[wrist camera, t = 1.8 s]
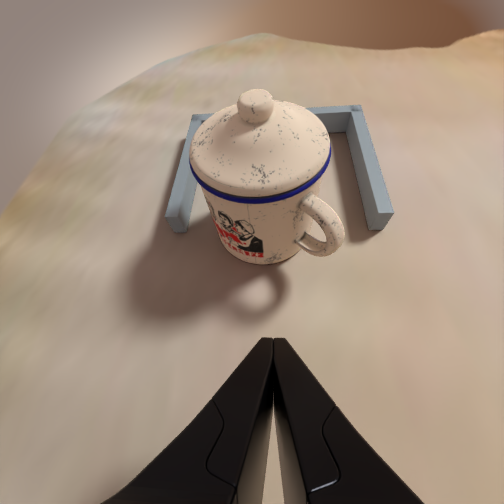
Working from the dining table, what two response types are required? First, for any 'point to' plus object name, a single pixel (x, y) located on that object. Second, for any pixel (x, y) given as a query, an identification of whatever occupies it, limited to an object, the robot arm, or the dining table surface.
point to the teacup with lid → (265, 178)
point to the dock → (334, 121)
